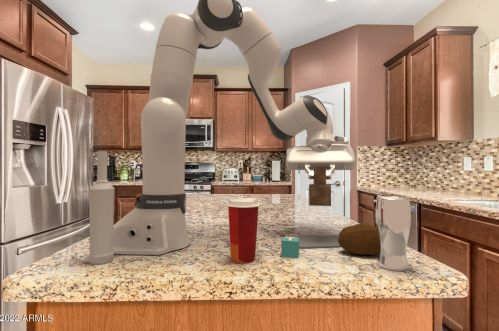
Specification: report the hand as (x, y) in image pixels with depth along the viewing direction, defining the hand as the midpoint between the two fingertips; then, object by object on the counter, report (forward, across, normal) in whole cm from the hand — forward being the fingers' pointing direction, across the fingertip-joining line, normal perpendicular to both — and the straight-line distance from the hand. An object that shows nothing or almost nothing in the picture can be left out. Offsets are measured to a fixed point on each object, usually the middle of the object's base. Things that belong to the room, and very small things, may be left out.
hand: (319, 177), depth 84 cm
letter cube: (+23, -7, +3) cm, 24 cm away
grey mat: (+13, 0, +14) cm, 19 cm away
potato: (+19, +11, +7) cm, 23 cm away
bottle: (+34, -48, -8) cm, 60 cm away
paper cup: (+28, -18, -1) cm, 33 cm away
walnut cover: (+5, 0, +6) cm, 8 cm away
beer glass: (+25, +16, +1) cm, 30 cm away
